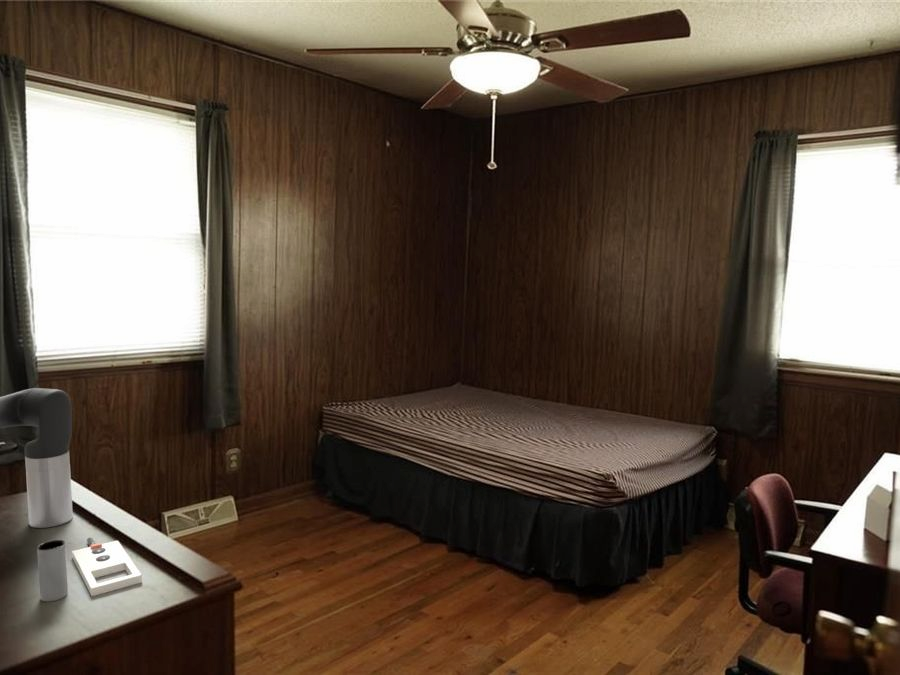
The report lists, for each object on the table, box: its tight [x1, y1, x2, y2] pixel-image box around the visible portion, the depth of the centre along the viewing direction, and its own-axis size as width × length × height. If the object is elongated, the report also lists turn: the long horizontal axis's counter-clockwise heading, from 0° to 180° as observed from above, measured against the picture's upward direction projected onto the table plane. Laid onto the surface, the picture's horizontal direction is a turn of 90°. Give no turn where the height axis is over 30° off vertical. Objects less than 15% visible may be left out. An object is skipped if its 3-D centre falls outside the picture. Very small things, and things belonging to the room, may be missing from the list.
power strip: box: [71, 537, 143, 597], centre depth 138 cm, size 27×9×2 cm, turn 39°
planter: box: [36, 539, 69, 602], centre depth 124 cm, size 4×4×10 cm
